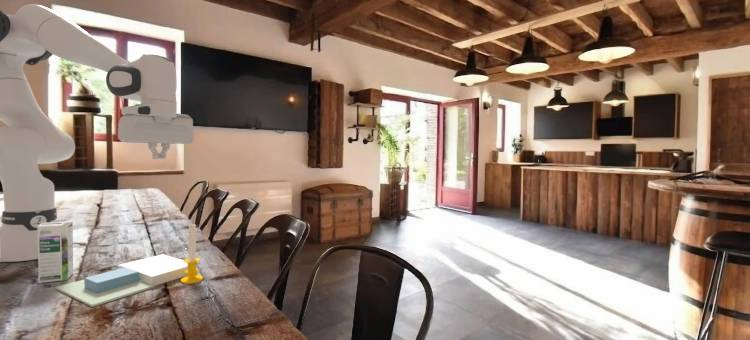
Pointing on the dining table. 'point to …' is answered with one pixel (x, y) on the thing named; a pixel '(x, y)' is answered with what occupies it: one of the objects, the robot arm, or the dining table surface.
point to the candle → (192, 259)
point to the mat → (96, 299)
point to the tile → (111, 280)
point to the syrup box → (55, 251)
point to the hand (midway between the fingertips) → (159, 159)
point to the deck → (158, 269)
